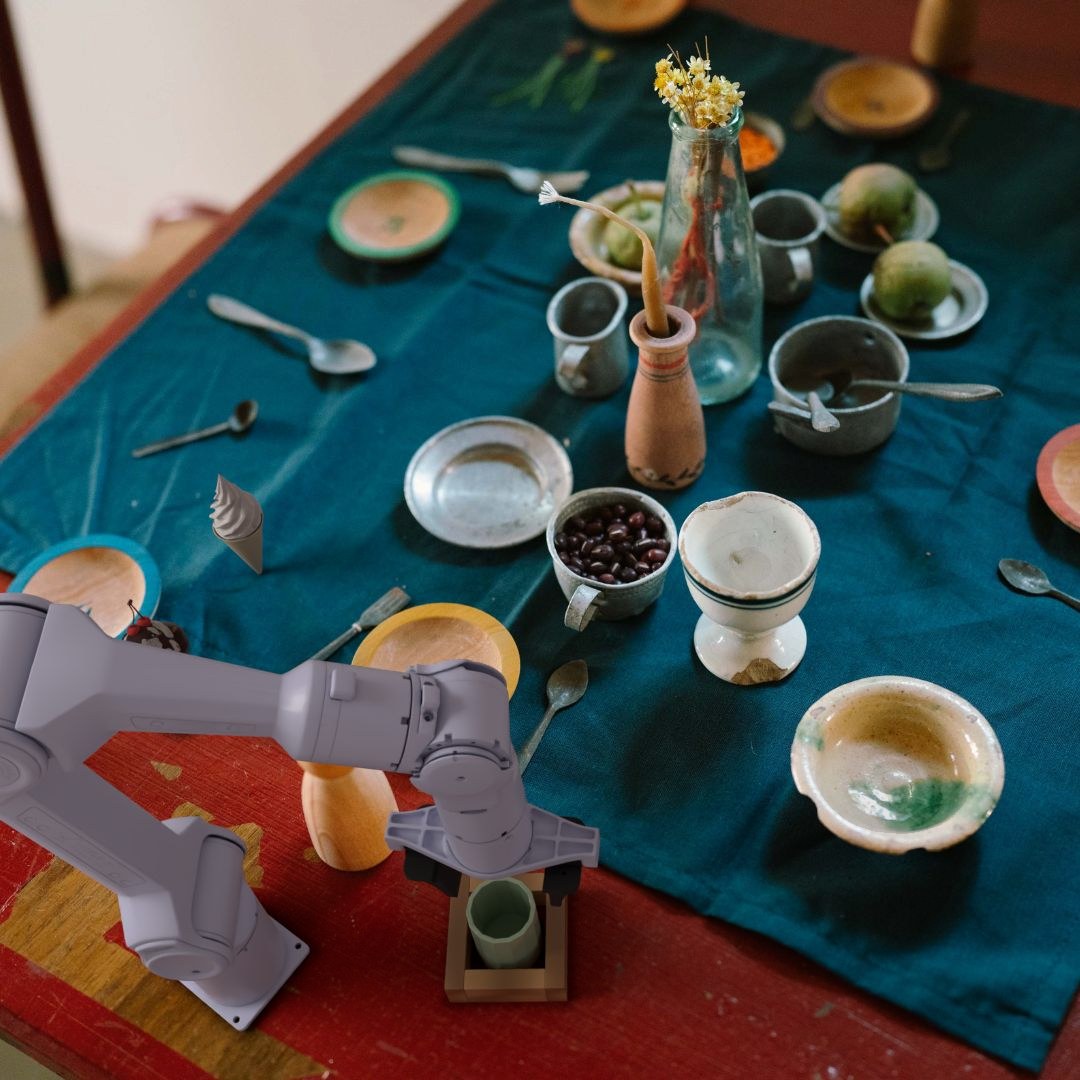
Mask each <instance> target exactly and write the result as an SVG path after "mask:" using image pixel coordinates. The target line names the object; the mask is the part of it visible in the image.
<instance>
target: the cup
mask: <svg viewBox="0 0 1080 1080" xmlns="http://www.w3.org/2000/svg"><path fill="white" fill-rule="evenodd" d="M466 915H467V919H468V923H469V927H470V930H471V933H472V940H473V941H474V944H475V947H476V951H477V953H478V956H479V959H480V960H481V962H482V963H483V964H484V966H485V967H486V968H487V970H489V969H532V968H533V966H534V965H535V964H536V963H537V962H538V960H539V958H540V956H541V953H542V949H543V940H544V938H543V935H542V934H543V933H542V927H541V924H540V918H539V915H538V911H537V906H536V905H535V902H534V898H533V895H532V892H531V891H530V890H529V889H528V888H527V886H526V885H525V884H524V883H523V882H521V881H520V880H517V879H514V878H512V877H506V878H502V879H497V880H486V881H484V882H483V883H481V884H479V885H478V886H477V887H476V889H475V890H474V891H473V893H472V894H471V895H470V897H469V900H468V905H467V909H466Z"/></svg>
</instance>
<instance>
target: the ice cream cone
mask: <svg viewBox="0 0 1080 1080" xmlns="http://www.w3.org/2000/svg"><path fill="white" fill-rule="evenodd" d="M214 492H215V493H216V494H215V495H214V497H213V500H215V501H214V502H212V503H211V504H210V507H209V508H210V509H214V512H212V513H210V514H209V516H208V517H209V518H210V519H213V522H212V531H213V533H214V535H215V536H216V537H217V538H218V539H219V540H222V541H223V543H225V544H226V545H227V547H229V548H230V549H231V550H232V551H233V552H234V553H235V554H236V555H238V556H239V557H240V559H242V561H244V562H245V563H246V564H247V565H248V566H249V568H251V569H252V570H253V571H254V572H255V573H256V574H258V575H262V573H263V523H264V513H263V509H262V507H261V506H260V503H259V501H258V500H257V499H256V498H255V497H254V495H253V494H252V493H251V492H249V491H246V490H242V489H241V488H240V487H239V486H237V484H235V483H232V482H230V481H229V480H227V479H226V478H225V477H224V476H223V475H221V474H220V473H218V474H217V483H216V489H215V490H214Z"/></svg>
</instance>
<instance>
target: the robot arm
mask: <svg viewBox="0 0 1080 1080" xmlns="http://www.w3.org/2000/svg"><path fill="white" fill-rule="evenodd" d="M121 639H122V638H117V637H113V636H111V635H109V634H108V633H106V632H105V631H104V630H103V629H102V627H100V625H99V624H98V623H97V622H96V621H95V620H94V619H93V618H92V616H90V615H89V614H88V613H87V612H85V611H84V610H83V609H81V608H80V607H79V606H77V605H74V604H69V603H68V604H67V603H55V602H53V601H51V600H49V599H47V598H44V597H40V596H38V595H34V594H29V593H25V592H24V593H23V592H0V821H1V822H3V823H4V824H6V825H7V826H9V827H10V828H12V829H14V830H15V831H17V832H18V833H20V834H21V835H23V836H25V837H26V838H28V839H29V840H31V841H32V842H34V843H36V844H37V845H39V846H40V847H42V848H44V849H45V850H47V851H48V852H50V853H51V854H53V855H55V856H56V857H57V858H60V859H61V860H62V861H64V862H65V863H67V864H68V865H70V866H72V867H73V868H75V869H76V870H78V871H79V872H82V873H83V874H84V875H86V876H87V877H89V878H91V879H92V880H94V881H95V882H97V883H99V884H100V885H101V886H103V887H105V888H106V889H108V890H109V891H111V892H112V893H115V894H116V896H117V900H118V904H119V911H120V918H121V925H122V929H123V935H124V941H125V944H126V947H127V948H129V949H130V950H131V951H133V952H135V953H136V954H138V955H139V957H140V960H141V961H140V962H141V963H142V964H143V965H144V967H146V968H147V969H148V970H149V971H150V972H151V973H153V974H154V975H155V976H158V977H161V978H163V979H168V980H173V981H179V983H181V984H182V985H183V986H184V987H186V988H187V989H188V990H189V991H191V992H192V993H193V994H194V995H195V996H196V997H198V998H199V999H200V1000H201V1001H202V1002H204V1004H206V1005H207V1006H208V1007H209V1008H210V1009H212V1010H213V1011H214V1012H215V1013H216V1014H218V1015H219V1016H220V1017H221V1018H222V1019H224V1020H225V1021H226V1022H227V1023H228V1024H230V1025H231V1026H232V1027H233V1028H234V1029H235V1030H237V1031H238V1032H244V1031H246V1030H247V1029H248V1028H249V1027H250V1025H251V1024H252V1023H253V1022H254V1021H255V1019H256V1018H257V1017H258V1016H259V1015H260V1013H261V1012H262V1011H263V1010H264V1008H265V1007H266V1006H267V1005H268V1004H269V1003H270V1001H271V1000H272V999H273V998H274V996H275V995H276V994H277V993H278V992H279V990H280V989H281V988H282V987H283V985H284V984H285V983H286V982H287V981H288V980H289V979H290V977H291V976H292V975H293V973H294V972H295V971H296V970H297V969H298V968H299V966H300V965H301V964H302V963H303V961H304V960H305V959H306V958H307V957H308V955H309V954H310V950H311V949H310V947H309V945H308V944H307V943H305V942H304V941H303V940H301V939H300V938H299V937H298V936H296V935H295V934H294V933H292V932H291V931H290V930H289V929H287V928H286V927H285V926H284V925H282V923H280V922H278V921H277V920H275V919H274V918H273V917H272V916H271V915H269V914H268V913H267V911H266V909H265V908H264V906H263V905H262V904H261V902H260V900H259V899H258V897H257V896H256V894H255V893H254V891H253V889H252V887H250V885H249V884H248V883H247V880H246V871H244V869H243V867H244V860H245V859H246V857H247V852H248V845H247V843H246V841H245V840H244V839H243V838H242V837H241V836H240V835H238V834H237V833H235V831H232V830H231V829H229V828H226V827H223V826H220V825H215V824H212V823H210V822H208V821H206V820H205V819H203V818H202V816H199V815H194V816H193V815H192V816H191V815H190V816H189V815H187V816H177V817H174V818H173V817H172V818H168V819H165V820H161V821H160V820H159V819H158V818H156V817H155V816H154V815H153V814H151V813H150V812H149V811H147V810H146V809H144V808H143V807H142V806H140V805H139V804H138V803H136V802H135V801H134V800H132V799H131V798H130V797H128V795H126V794H124V793H123V792H122V791H121V790H119V789H117V788H116V787H115V786H114V785H113V784H111V783H110V782H108V781H107V780H106V779H104V778H103V777H101V776H100V775H99V774H98V773H96V772H95V771H94V770H92V769H91V768H90V767H88V766H87V765H86V764H84V762H85V761H87V759H88V758H89V759H90V757H91V756H92V755H93V754H95V753H96V752H97V751H98V750H99V749H100V748H101V747H103V746H104V745H105V744H106V743H107V742H108V741H109V740H110V739H112V738H113V737H114V736H115V735H117V733H119V732H137V733H161V734H177V733H182V734H183V735H185V734H186V735H207V736H231V737H233V736H235V737H255V738H256V737H259V738H271V739H272V740H274V741H275V742H277V743H278V745H279V746H280V747H282V749H283V750H284V751H285V752H286V754H287V755H288V756H289V757H290V758H292V760H294V761H296V762H298V761H299V762H306V763H313V764H314V763H315V764H323V765H331V766H340V767H349V768H357V769H366V770H373V771H383V772H392V773H398V774H407V775H412V776H410V777H409V781H410V783H411V784H412V785H413V787H415V788H416V789H417V790H419V791H420V792H422V793H424V794H426V795H428V796H431V797H432V799H433V802H434V803H433V804H432V803H425V804H422V805H420V806H418V807H417V808H416V809H414V810H407V811H389V813H388V818H387V823H386V827H385V830H384V836H383V838H384V841H385V843H386V846H387V848H388V850H389V851H396V852H398V851H399V852H401V851H405V852H404V860H403V865H402V872H403V874H404V876H405V878H406V880H407V881H412V882H419V883H420V882H421V883H426V884H428V885H430V886H432V887H433V888H435V889H436V890H439V891H440V892H441V893H443V894H444V895H445V896H447V897H449V898H451V897H456V898H458V893H459V887H460V882H461V876H462V875H468V876H471V877H473V878H476V879H480V880H497V879H502V878H506V877H510V876H514V875H518V874H522V873H531V872H534V871H537V870H538V871H539V870H541V869H544V872H543V873H544V880H543V887H542V892H543V893H548V895H549V897H550V905H551V906H555V907H560V906H562V900H563V898H564V897H565V896H566V895H567V896H572V895H577V893H578V891H579V888H580V886H581V881H582V872H583V867H585V868H586V867H587V868H594V869H595V868H598V865H599V858H600V857H599V856H600V849H601V847H600V846H601V837H600V829H599V828H598V827H592V826H586V824H585V822H584V821H583V820H582V819H581V818H578V817H577V816H566V815H564V816H563V815H557V814H555V813H552V812H550V811H547V810H545V809H543V808H540V807H538V806H537V805H533V804H531V803H529V802H528V800H527V796H526V791H525V787H524V782H523V778H522V772H521V769H520V764H519V758H518V756H517V752H516V751H515V748H514V745H513V742H512V739H511V731H510V727H511V726H510V725H511V724H510V697H509V696H510V695H509V691H508V684H507V680H506V677H505V675H504V674H503V673H502V672H501V671H499V670H498V669H497V668H495V667H493V666H491V665H489V664H486V663H483V662H479V661H474V660H471V659H467V658H453V659H445V660H441V661H437V662H434V663H430V664H419V663H415V664H414V665H408V666H407V668H406V671H405V672H403V671H397V670H388V669H382V668H376V667H368V666H361V665H354V664H346V663H341V662H333V661H325V660H318V659H308V660H306V661H304V662H302V663H301V664H299V665H297V666H296V667H294V668H292V669H290V670H289V671H287V672H285V673H282V674H280V673H275V672H271V671H265V670H261V669H256V668H253V667H252V668H251V667H247V666H244V665H239V664H235V663H229V662H224V661H221V660H215V659H211V658H206V657H201V656H198V655H193V654H189V653H188V654H184V653H180V652H175V651H171V650H166V649H162V648H157V647H153V646H148V645H144V644H139V643H134V642H130V641H125V640H121ZM298 946H300V948H297V947H298ZM237 1019H239V1021H238V1022H236V1020H237Z"/></svg>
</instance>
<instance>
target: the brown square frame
mask: <svg viewBox="0 0 1080 1080" xmlns="http://www.w3.org/2000/svg"><path fill="white" fill-rule="evenodd" d="M510 877H512V878H514V879H517V880H520V881H521V882H523V883H524V884H525V885H526V886H527V888H528V889H529V890H530V891H531V892H532V895H533V898H534V902H535V905H536V907H537V906H538V907H539V906H545V955H544V958H545V959H544V960H545V962H544V963H545V965H544V967H545V968H530V969H471V968H472V967H471V966H472V948H473V947H472V946H473V936H472V933H471V930H470V927H469V923H468V919H467V915H466V909H467V905H468V900H469V897H470V895H471V894H472V893H473V891H474V890H475V889H476V887H477V886H478V885H479V884H481V883H483V882H484V881H486V880H480V879H476V878H473V877H471V876H468V875H466V874H462V876H461V882H460V887H459V893H458V898H456V897H450V901H449V914H448V929H447V944H446V960H445V973H444V974H445V975H444V988H443V989H444V991H445V994H446V996H447V999H448V1002H449V1003H529V1002H531V1003H532V1002H533V1003H534V1002H535V1003H536V1002H537V1003H538V1002H568V895H566V896H565V897H564V898H563V900H562V906H560V907H555V906H551V905H550V897H549V895H548V893H543V892H542V887H543V880H544V872H534V873H533V872H526V873H522V874H518V875H514V876H510Z"/></svg>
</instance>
